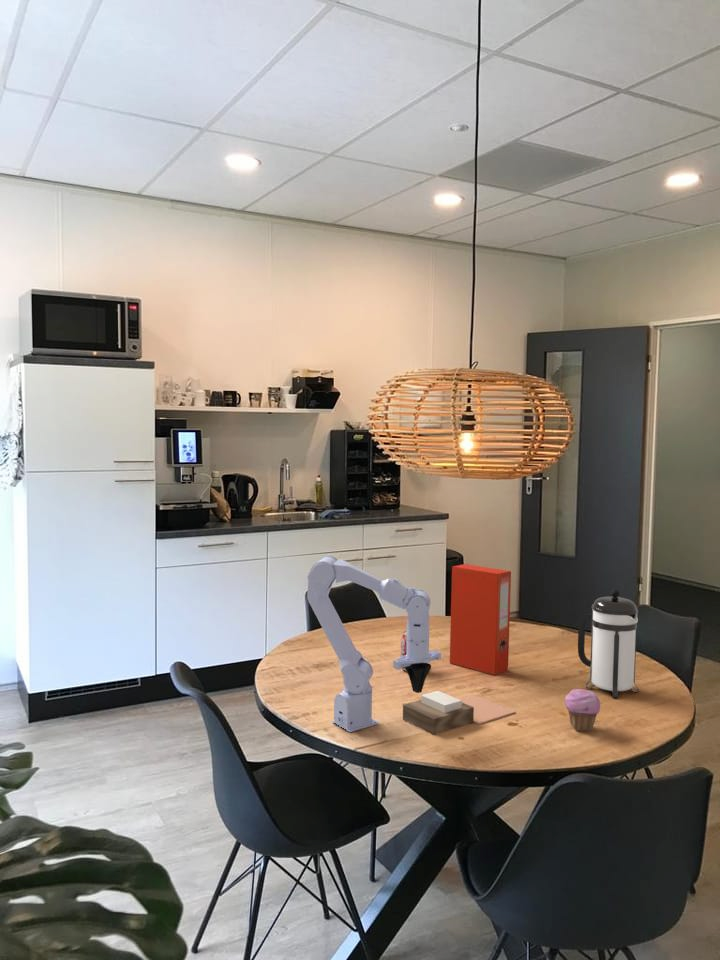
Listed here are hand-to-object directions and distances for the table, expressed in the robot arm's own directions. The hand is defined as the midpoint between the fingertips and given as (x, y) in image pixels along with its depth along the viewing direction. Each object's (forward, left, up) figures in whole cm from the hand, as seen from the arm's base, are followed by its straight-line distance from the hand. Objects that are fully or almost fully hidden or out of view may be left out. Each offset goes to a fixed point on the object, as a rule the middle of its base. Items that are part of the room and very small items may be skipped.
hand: (417, 691), depth 192 cm
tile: (+8, 0, -5) cm, 10 cm away
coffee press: (+65, -11, -10) cm, 67 cm away
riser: (+7, 0, -9) cm, 12 cm away
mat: (+21, 0, -9) cm, 23 cm away
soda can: (+29, +36, -10) cm, 48 cm away
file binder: (+49, +26, -10) cm, 57 cm away
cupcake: (+34, -25, -10) cm, 44 cm away
